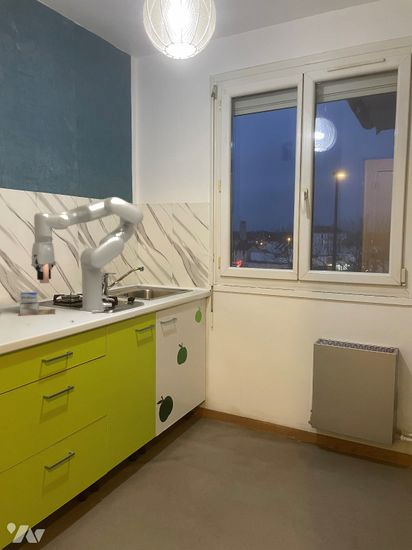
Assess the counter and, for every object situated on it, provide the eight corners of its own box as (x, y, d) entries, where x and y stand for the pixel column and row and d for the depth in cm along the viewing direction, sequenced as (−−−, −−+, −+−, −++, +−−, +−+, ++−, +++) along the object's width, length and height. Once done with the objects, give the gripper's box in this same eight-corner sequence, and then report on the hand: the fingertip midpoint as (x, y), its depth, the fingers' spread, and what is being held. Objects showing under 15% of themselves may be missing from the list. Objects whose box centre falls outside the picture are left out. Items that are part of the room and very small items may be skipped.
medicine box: (20, 310, 207) (20, 293, 206) (21, 308, 211) (20, 291, 210) (37, 309, 209) (37, 292, 209) (37, 307, 214) (37, 291, 213)
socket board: (55, 311, 204) (55, 300, 204) (55, 316, 191) (55, 305, 191) (20, 313, 199) (19, 302, 198) (17, 318, 186) (17, 307, 185)
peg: (48, 282, 194) (48, 261, 193) (48, 283, 190) (48, 261, 189) (39, 282, 193) (39, 261, 192) (39, 283, 189) (39, 261, 188)
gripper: (50, 240, 199) (51, 277, 200) (22, 239, 183) (23, 280, 185) (62, 240, 196) (63, 278, 197) (35, 240, 180) (36, 281, 182)
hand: (44, 279), depth 191 cm, fingers closed on peg, 4 cm apart
